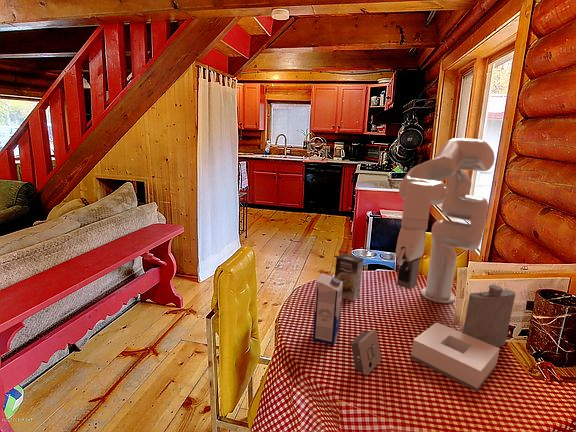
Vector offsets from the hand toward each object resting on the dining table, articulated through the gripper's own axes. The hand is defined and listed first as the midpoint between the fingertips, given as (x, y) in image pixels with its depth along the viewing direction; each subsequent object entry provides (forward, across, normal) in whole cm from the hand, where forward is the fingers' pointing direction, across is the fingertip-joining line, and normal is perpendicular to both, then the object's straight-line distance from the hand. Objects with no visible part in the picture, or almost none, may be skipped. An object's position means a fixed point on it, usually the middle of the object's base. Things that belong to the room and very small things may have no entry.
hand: (407, 278), depth 111 cm
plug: (+3, 0, 0) cm, 3 cm away
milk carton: (+19, +21, -14) cm, 32 cm away
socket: (+19, +3, +18) cm, 26 cm away
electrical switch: (+19, +23, +2) cm, 30 cm away
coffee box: (+19, -8, -28) cm, 35 cm away
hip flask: (+19, -14, +21) cm, 32 cm away
